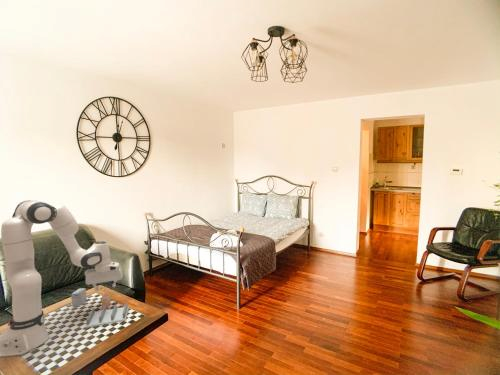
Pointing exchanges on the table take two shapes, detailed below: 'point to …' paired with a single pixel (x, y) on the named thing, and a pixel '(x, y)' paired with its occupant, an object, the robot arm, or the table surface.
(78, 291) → the medicine box
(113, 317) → the rack
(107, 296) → the block
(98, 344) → the table surface
